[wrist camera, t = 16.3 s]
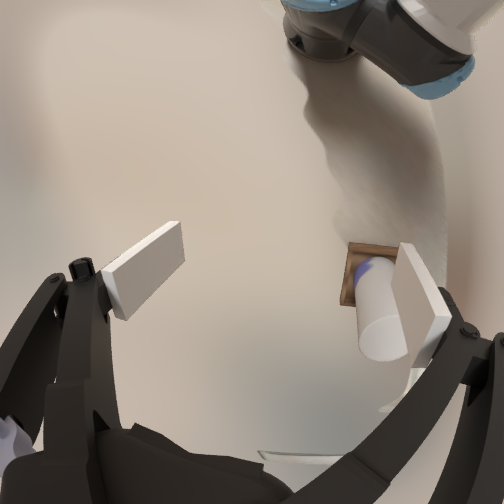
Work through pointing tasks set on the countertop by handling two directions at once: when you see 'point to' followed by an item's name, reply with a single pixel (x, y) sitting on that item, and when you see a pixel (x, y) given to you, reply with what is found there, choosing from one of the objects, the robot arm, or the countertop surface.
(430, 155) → the countertop surface
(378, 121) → the countertop surface
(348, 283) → the stand
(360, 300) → the container
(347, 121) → the countertop surface
